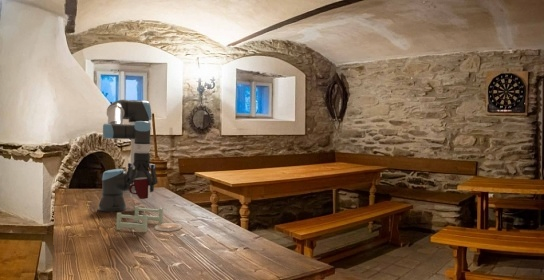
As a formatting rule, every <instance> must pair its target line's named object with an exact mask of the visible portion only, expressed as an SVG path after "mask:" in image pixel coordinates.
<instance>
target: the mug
mask: <svg viewBox="0 0 544 280" xmlns="http://www.w3.org/2000/svg"><path fill="white" fill-rule="evenodd" d="M149 185H150V184H149V182H148V179H147V177H142V178H135V179H134V184H132V185H131V186H130V187H129V191H128V192H129V194H130V193H131V194H134V195H136V196H137V197H138V199H140V200H145V199H148V186H149ZM133 186H135V190H136V191H135V192H134V193H133V192H132V191H131V188H132V187H133Z"/></svg>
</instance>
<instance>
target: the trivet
mask: <svg viewBox="0 0 544 280" xmlns="http://www.w3.org/2000/svg"><path fill="white" fill-rule="evenodd" d="M154 229H155V230H156V231H159V232H175V231H179V230H182V229H183V225H182V224H180V223H176V222H166V223H165V222H164V223H163V224H159V223H158V224H156V225H155V226H154Z"/></svg>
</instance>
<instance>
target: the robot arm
mask: <svg viewBox="0 0 544 280" xmlns="http://www.w3.org/2000/svg"><path fill="white" fill-rule="evenodd" d="M106 116H107V123H104V124H103V125H102V138H103V139H107V140H108V139H109V140H114V139H115V140H117V139H118V140H130V162H128V163H127V171H125V170H124V169H123V168H115V169H108V170H105V171H104V172H103V173H102V177H101V181H102V185H101V197H100V201H99V204H98V211H100V212H106V213H108V212H109V213H111V212H122V211H125V210H126V209H127V203H126V200H125V197H124V192H129V197H130V198H135V194H131V193H130V191H129V187H130V186H131V185H132V184H134V179H135V178H142V177H147V179H148V182H149V184H150V185H149V186H148V198H147V200H151V199H153V192H154V189H155V185H158V177H157V171H156V166H157V165H156V164H155V163H154V164H153V163H151V162H150V160H151V130H152V127H151V122H150V121H152V119H153V118H152V117H153V116H152V108H151V103H150V102H149V101H148V100H140V99H138V100H137V99H119V100H115V101H113V102H112V103H110V104H109V105H108V107H107V109H106ZM124 120H128V124H126V123H123V122H124ZM149 168H150V169H149ZM131 191H132V192H133V193H135V192H136V190H135V186H133V187H132V188H131Z"/></svg>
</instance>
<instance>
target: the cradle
mask: <svg viewBox="0 0 544 280" xmlns="http://www.w3.org/2000/svg"><path fill="white" fill-rule="evenodd" d="M140 211H141V212H151V213H158V216H156V215H155V216H154V215H148V214H143V215H142V214H140ZM163 217H164V207H159V208H158V209H157V208H155V209H154V208H145V207H140V206H139V205H135V206H134V215H130V214H122V212H116V231H121V230H122V228H128V229H130V228H131V229H141V230H142V231H141V232H142V233H147V232H148V221H153V222H155V221H156V222H158V224H163V222H164V221H163V220H164V218H163ZM122 219H131V220H132V219H133V220H134V223H133V222H126V221H125V222H122ZM139 220H141V221H142V223H138V222H139Z"/></svg>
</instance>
